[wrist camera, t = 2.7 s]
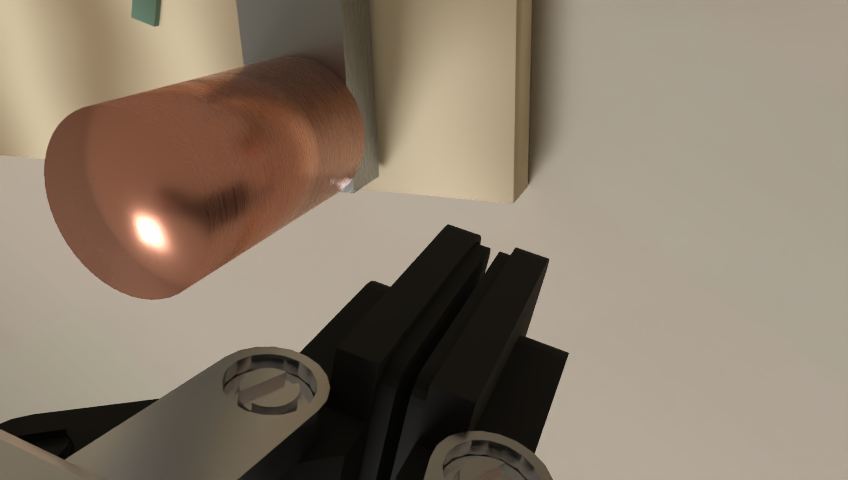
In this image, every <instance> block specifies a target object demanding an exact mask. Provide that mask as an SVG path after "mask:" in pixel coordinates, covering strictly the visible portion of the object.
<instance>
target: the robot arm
mask: <svg viewBox="0 0 848 480" xmlns="http://www.w3.org/2000/svg"><path fill="white" fill-rule="evenodd" d="M480 243H481V236H480V235H478V234H475V233H472V232H469V231H466V230H463V229H460V228H457V227H454V226H451V225H449V224H448V225H446V226H445V227H444V228H443V230H442V231H441V232H440V233H439V234H438V235H437V236H436V237H435V238H434V240H433V241H432V242H431V243H430V244H429V245H428V246H427V247H426V248H425V250H424V251H423V252H422V253H421V254H420V255H419V256H418V257H417V258H416V260H415V261H414V262H413V263H412V264H411V265H410V266H409V267H408V268H407V269H406V271H405V272H404V273H403V274H402V275H401V276H400V277H399V278H398V279H397V281H396V282H395V283H394V284H393V285H392V286H391V287H389V286H387V285H384V284H381V283H378V282H376V281H371V282H369V283H368V284H366V285H365V286H364V287H363V289H362V290H361V291H360V292H359V293H358V294H357V295H356V296H355V297H354V298H353V299H352V300H351V301H350V302H349V303H348V304H347V305H346V306H345V307H344V308H343V309H342V310H341V311H340V312H339V313H338V314H337V315H336V316H335V317H334V318H333V319H332V320H331V321H330V322H329V323H328V324H327V325H326V326H325V327H324V328H323V329H322V330H321V331H320V333H319V334H318V335H317V336H316V337H315V338H314V339H313V340H312V341H311V342H310V343H309V344H308V345H307V346H306V347H305V348H304V349H303V350H302V351H301V352H300V353H298V352H295V351H293V350H289V349H283V348H278V347H254V348H249V349H244V350H239V351H237V352H235V353H233V354H231V355H228V356H226V357H224V358H223V359H221V360H220V361H218V362H217V363H215V364H213V365H212V366H210V367H209V368H207V369H206V370H204V371H202V372H201V373H199V374H198V375H196V376H195V377H193V378H192V379H190V380H188V381H187V382H185V383H184V384H182V385H181V386H179V387H177V388H176V389H174V390H173V391H171V392H170V393H168V394H167V395H165V396H163V397H162V398H160V399H153V400H145V401H137V402H129V403H121V404H113V405H105V406H97V407H89V408H81V409H73V410H65V411H57V412H49V413H41V414H33V415H28V416H24V417H19V418H15V419H11V420H8V421H6V422H4V423H1V424H0V480H553V479H552V477H551V475H550V473H549V471H548V469H547V468H546V466H545V465H544V463H543V462H542V461H541V460H540V459H539V458H538V457H537V456H536V455H535V451H536V448H537V445H538V442H539V439H540V436H541V433H542V430H543V427H544V424H545V421H546V419H547V416H548V413H549V410H550V407H551V404H552V401H553V398H554V395H555V392H556V389H557V386H558V383H559V381H560V378H561V375H562V372H563V369H564V366H565V363H566V360H567V357H568V354H569V353H568V352H565V351H562V350H560V349H557V348H554V347H551V346H549V345H546V344H543V343H541V342H538V341H535V340H533V339H530V338H527V337H526V334H527V330H528V327H529V324H530V321H531V318H532V315H533V311H534V308H535V305H536V302H537V299H538V296H539V292H540V289H541V286H542V283H543V280H544V277H545V273H546V270H547V267H548V263H549V259H548V258H545V257H542V256H539V255H536V254H533V253H530V252H528V251H525V250H522V249H519V248H515V249H514V251H513V252H512V254H511V255H508V254H505V253H502V252H499V253H498V255H497V256H496V258H495V259H494V261H493V262H492V264H491V265H490V267H489V268H488V270H487V271H486V267H487V263H488V259H489V255H490V248H488V247H485V246H482V245H480ZM485 271H486V273H485Z"/></svg>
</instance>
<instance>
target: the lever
mask: <svg viewBox="0 0 848 480" xmlns="http://www.w3.org/2000/svg"><path fill="white" fill-rule="evenodd" d="M236 5H237V13H238V22H239V30H240V38H241V47H242V55H243V64H244V66H242V67H238V68H235V69H231V70H227V71H223V72H219V73H215V74H211V75H207V76H203V77H200V78H196V79H192V80H188V81H184V82H180V83H176V84H172V85H168V86H164V87H161V88H157V89H153V90H149V91H145V92H141V93H137V94H133V95H129V96H125V97H122V98H118V99H114V100H110V101H106V102H102V103H98V104H94V105H90V106H87V107H83V108H81V109H78V110H76V111H74V112H72V113H71V114H69V115H68V116H66V117H65V118H64V119H63V120H62V121H61V122H60V123H59V125H58V126H57V128H56V129H55V131H54V132H53V134H52V136H51V139H50V141H49V144H48V147H47V151H46V156H45V166H44V177H45V187H46V193H47V198H48V202H49V205H50V209H51V212H52V214H53V217H54V219H55V222H56V224H57V226H58V228H59V230H60V232H61V234H62V236H63V237H64V239H65V241H66V243H67V244H68V246H69V247H70V248H71V250H72V251H73V253H74V254H75V255H76V256H77V258H78V259H79V260H80V261H81V262H82V263H83V265H84V266H85V267H87V268H88V269H89V270H90V271H91V272H92V273H93V274H94V275H95V276H96V277H98V278H99V279H100V280H101V281H103V282H104V283H106V284H107V285H109V286H110V287H112V288H114V289H116V290H118V291H120V292H122V293H124V294H127V295H130V296H133V297H137V298H141V299H150V300H153V299H164V298H168V297H172V296H174V295H176V294H179V293H180V292H182V291H183V290H185V289H187V288H188V287H190V286H191V285H193V284H194V283H196V282H198V281H199V280H201V279H202V278H204V277H206V276H207V275H209V274H210V273H212V272H213V271H215V270H217V269H218V268H220V267H221V266H223V265H224V264H226V263H228V262H229V261H231V260H232V259H234V258H235V257H237V256H239V255H240V254H242V253H243V252H245V251H246V250H248V249H250V248H251V247H253V246H254V245H256V244H257V243H259V242H261V241H262V240H264V239H265V238H267V237H269V236H270V235H272V234H273V233H275V232H276V231H278V230H280V229H281V228H283V227H284V226H286V225H287V224H289V223H291V222H292V221H294V220H295V219H297V218H298V217H300V216H302V215H303V214H305V213H306V212H308V211H309V210H311V209H313V208H314V207H316V206H317V205H319V204H320V203H322V202H324V201H325V200H327V199H328V198H330V197H332V196H333V195H335V194H336V193H338V192H347V193H355V192H356V191H358V190H359V189H361V188H362V187H364V186H365V185H367V184H368V183H370V182H371V181H373V180H374V179H376V178H377V177H379V163H378V145H377V127H376V108H375V90H374V72H373V53H372V35H371V17H370V0H236Z"/></svg>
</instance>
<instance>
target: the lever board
mask: <svg viewBox="0 0 848 480" xmlns="http://www.w3.org/2000/svg"><path fill="white" fill-rule="evenodd" d="M370 17H371V35H372V53H373V72H374V90H375V108H376V127H377V145H378V163H379V177H377V178H376V179H374V180H373V181H371V182H370V183H368V184H367V185H365V186H364V187H362V188H361V189H364V190H374V191H385V192H395V193H406V194H416V195H427V196H437V197H448V198H458V199H469V200H479V201H490V202H500V203H511V204H513V203H514V202H515V201H516V200H517V199H518V198H519V196H520V195H521V194H522V193H523V192H524V190H525V189H526V188H527V187H528V155H529V113H530V71H531V29H532V0H370ZM242 66H244V64H243V55H242V47H241V38H240V30H239V22H238V13H237V5H236V0H0V155H7V156H17V157H28V158H38V159H45V156H46V151H47V147H48V144H49V141H50V139H51V136H52V134H53V132H54V131H55V129H56V128H57V126H58V125H59V123H60V122H61V121H62V120H63V119H64V118H65V117H66V116H68V115H69V114H71V113H72V112H74V111H76V110H78V109H81V108H83V107H87V106H90V105H94V104H98V103H102V102H106V101H110V100H114V99H118V98H122V97H125V96H129V95H133V94H137V93H141V92H145V91H149V90H153V89H157V88H161V87H164V86H168V85H172V84H176V83H180V82H184V81H188V80H192V79H196V78H200V77H203V76H207V75H211V74H215V73H219V72H223V71H227V70H231V69H235V68H238V67H242Z"/></svg>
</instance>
